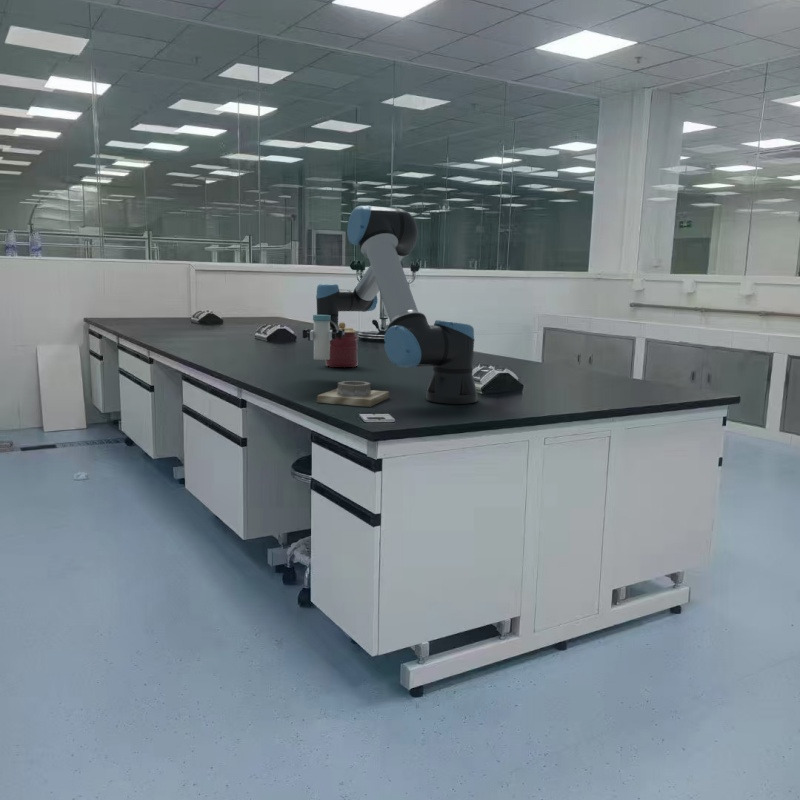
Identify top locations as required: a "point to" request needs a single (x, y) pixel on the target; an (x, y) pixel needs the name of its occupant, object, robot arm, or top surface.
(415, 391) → the top surface
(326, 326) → the canister
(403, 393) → the top surface
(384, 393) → the collar base
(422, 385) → the top surface
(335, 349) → the canister
